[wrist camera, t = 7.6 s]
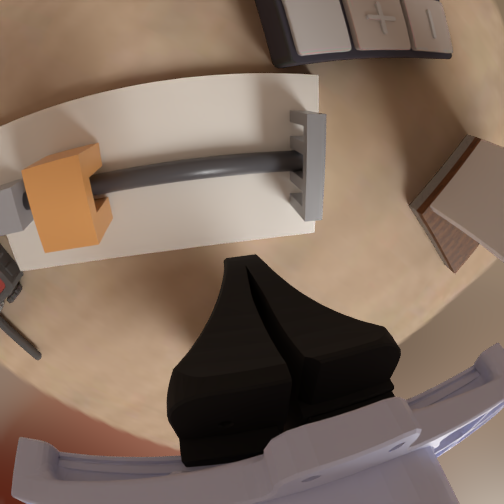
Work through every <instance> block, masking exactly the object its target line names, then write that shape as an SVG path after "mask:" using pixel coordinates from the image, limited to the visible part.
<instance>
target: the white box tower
mask: <svg viewBox="0 0 504 504" xmlns="http://www.w3.org/2000/svg"><path fill="white" fill-rule="evenodd" d="M409 207H410V208H411V210H412V211H413V213H414V214H415V216H416V217H417V219H418V221H419V222H420V224H421V225H422V227H423V228H424V230H425V232H426V233H427V235H428V237H429V238H430V240H431V242H432V243H433V245H434V247H435V248H436V250H437V252H438V254H439V255H440V257H441V259H442V261H443V263H444V264H445V265H446V266H447V267H448V268H449V269H450V270H451V271H452V272H454V273H456V272H457V271H458V270H459V268H460V267H461V266H462V265H463V264H464V263H465V261H466V260H467V259H468V258H469V257H470V255H471V254H472V253H473V252H474V250H475V249H476V248H477V247H478V245H479V244H481V245H482V246H483V247H485V248H486V249H487V250H489V251H490V252H491V253H492V254H494V255H495V256H496V257H497V258H499V259H500V260H501V261H502V262H504V147H501V146H499V145H496V144H493V143H491V142H488V141H485V140H482V139H480V138H477V137H474V136H471V135H468V134H467V135H466V137H465V138H464V139H463V141H462V142H461V143H460V145H459V146H458V147H457V148H456V150H455V151H454V152H453V154H452V155H451V156H450V157H449V159H448V160H447V161H446V162H445V164H444V165H443V166H442V167H441V169H440V170H439V171H438V172H437V173H436V175H435V176H434V177H433V178H432V179H431V181H430V182H429V183H428V184H427V185H426V187H425V188H424V189H423V190H422V191H421V193H420V194H419V195H418V196H417V197H416V198H415V199H414V201H413V202H412V203H411V204H410V205H409Z"/></svg>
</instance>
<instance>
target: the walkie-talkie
mask: <svg viewBox="0 0 504 504" xmlns="http://www.w3.org/2000/svg"><path fill="white" fill-rule="evenodd" d="M22 276H23V272H22V271H20V269H19V267H18V265H17V263H16V262H15V261H14V260H13V259H12V258H11V256H10V255H9V254H8V253H7V252H6V250H5V249H4V248H3V247H2V245H1V244H0V311H1V310H2V308H3V305H4V304H5V302H4V300H5V299H6V297H8V298H7V301H8V302H9V303H12V302H13V301H14V300H15V298H16V297H17V296H18V295H19V293H20V292H21V290H22V286H21V285H20V284H18V285H17V283H18V282H19V280H20V279H21V277H22ZM0 328H1V329H2V330H3V331H4V332H5V333H6V334H8V335H9V336H10V337H11V338H12V339H13V340H14V341H15V342H16V343H17V344H18V345H20V346H21V347H22V348H23V349H24V350H25V351H27V352H28V353H29V354H30V355H31V356H32V357H34V358H35V359H36V360H39V359H41V357H42V356H41V353H40V352H39V351H38V350H37V349H36V348H35V347H33V346H32V345H31V344H30V343H29V342H28V341H27V340H26V339H24V338H23V337H22V336H21V335H20V334H19V333H18V332H17V331H16V330H15V329H14V328H13V327H11V326H10V325H9V324H8V323H7V322H6V321H5V320H4V319H3V318H2V317H1V316H0Z"/></svg>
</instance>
